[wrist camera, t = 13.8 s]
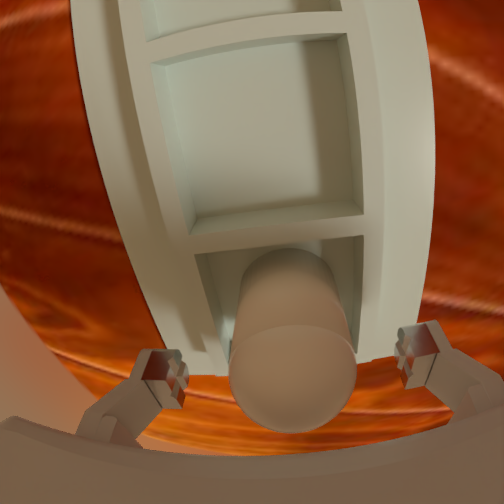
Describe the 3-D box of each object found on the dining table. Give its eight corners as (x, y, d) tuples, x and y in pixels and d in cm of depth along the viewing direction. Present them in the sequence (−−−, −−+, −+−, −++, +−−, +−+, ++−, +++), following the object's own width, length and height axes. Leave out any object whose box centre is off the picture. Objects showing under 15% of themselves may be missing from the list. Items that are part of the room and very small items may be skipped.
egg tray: (73, -67, 6) (52, -78, 4) (368, -119, 4) (379, -137, 2) (181, 369, 18) (174, 394, 16) (406, 347, 16) (416, 372, 15)
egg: (231, 254, 13) (203, 388, 7) (334, 242, 13) (377, 373, 7) (248, 329, 16) (237, 454, 9) (335, 320, 15) (359, 445, 9)
